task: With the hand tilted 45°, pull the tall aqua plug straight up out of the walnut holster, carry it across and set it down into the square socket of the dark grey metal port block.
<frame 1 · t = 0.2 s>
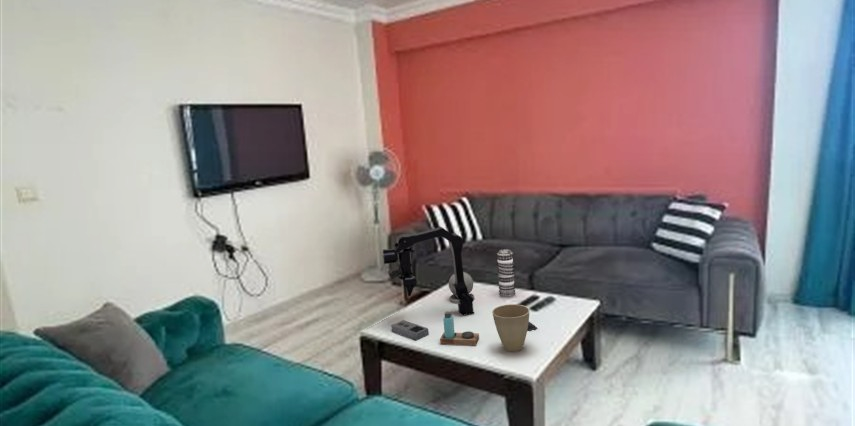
hand: (407, 293, 242), 15 cm above the table, tool pointing down, fingers open, 9 cm apart
plug: (450, 341, 219), resting in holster
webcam: (462, 299, 269), on the table
port block: (417, 335, 228), on the table
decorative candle: (507, 297, 267), on the table
phone: (522, 326, 229), on the table
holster: (450, 341, 219), on the table
plant pot: (513, 348, 208), on the table
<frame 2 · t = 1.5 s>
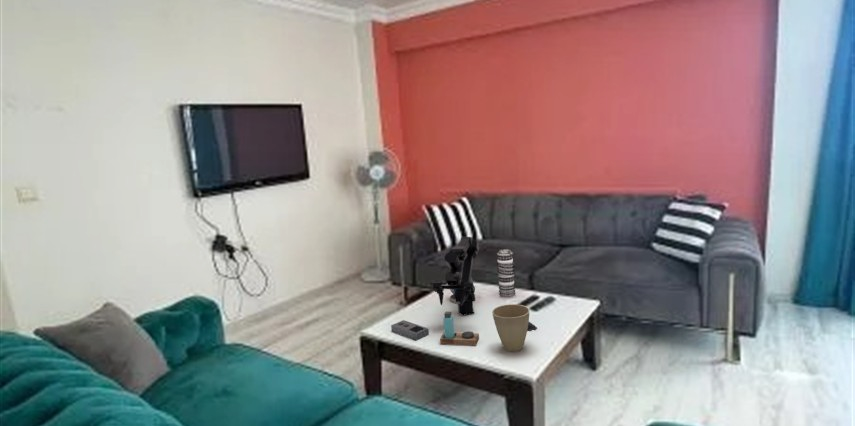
hand: (451, 305, 225), 13 cm above the table, tool tilted 45°, fingers open, 9 cm apart
nothing on the table moved.
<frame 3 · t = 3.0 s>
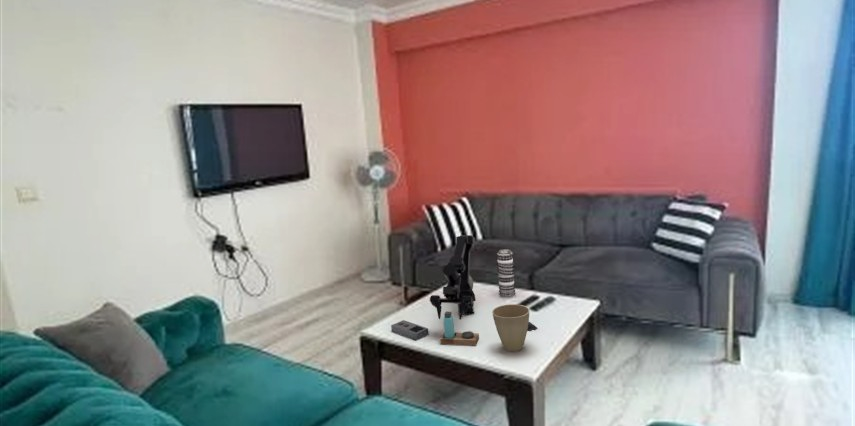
hand: (449, 319, 219), 9 cm above the table, tool tilted 45°, fingers open, 9 cm apart
nothing on the table moved.
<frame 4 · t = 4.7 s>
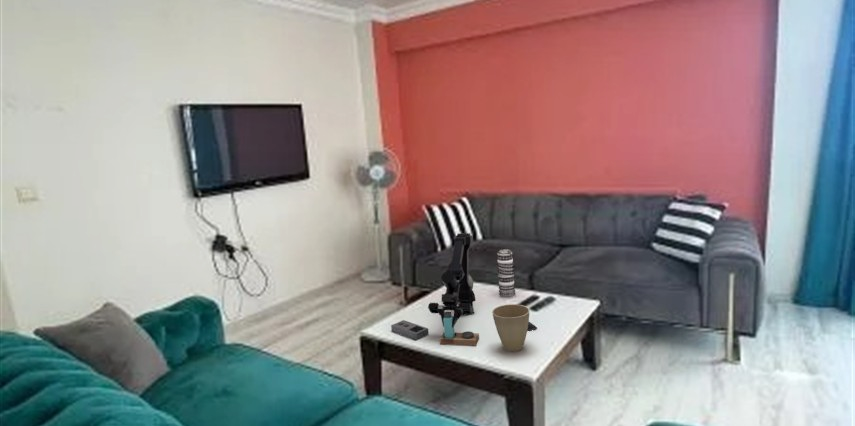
hand: (448, 327, 217), 7 cm above the table, tool tilted 45°, fingers closed on plug, 3 cm apart
plug: (450, 341, 219), resting in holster, touching gripper
everything else where it was.
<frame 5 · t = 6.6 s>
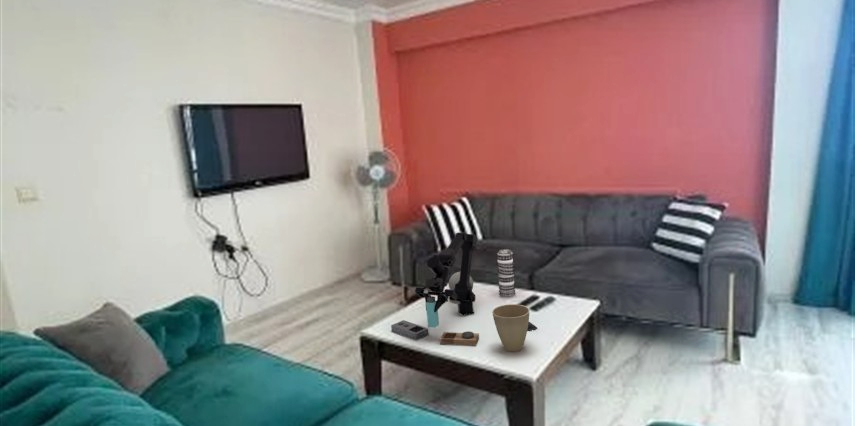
hand: (430, 311, 218), 14 cm above the table, tool tilted 45°, fingers closed on plug, 3 cm apart
plug: (433, 325, 221), point 6 cm above the table, touching gripper
everything else where it was.
when the fingers open (9 cm above the table, at t = 8.8 s): plug drops 1 cm, resting in port block.
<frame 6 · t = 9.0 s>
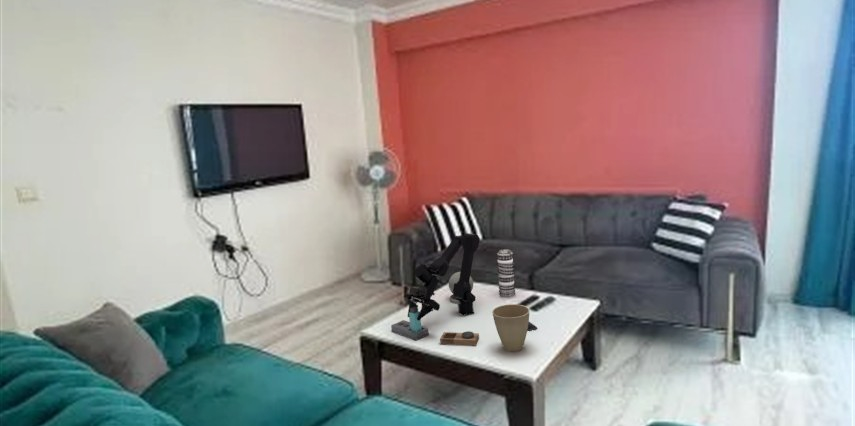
hand: (412, 318, 226), 9 cm above the table, tool tilted 45°, fingers open, 6 cm apart
plug: (416, 335, 228), resting in port block
everything else where it was.
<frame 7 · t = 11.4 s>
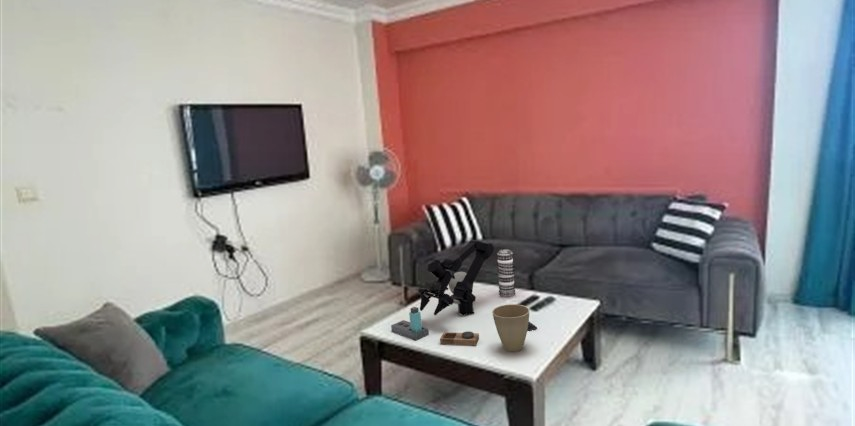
hand: (427, 312, 232), 8 cm above the table, tool tilted 45°, fingers open, 9 cm apart
nothing on the table moved.
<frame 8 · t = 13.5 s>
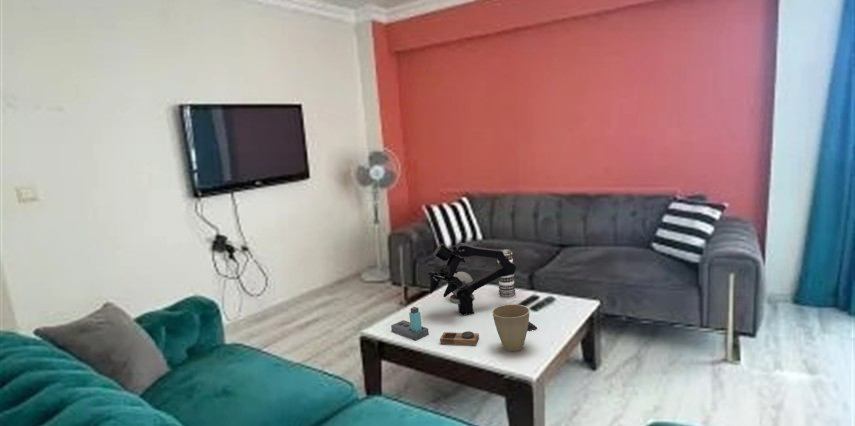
hand: (437, 295, 238), 14 cm above the table, tool tilted 45°, fingers open, 9 cm apart
nothing on the table moved.
at the end: plug 0.1 cm off-centre on the port block, point 0.0 cm above the port block's base; plug tilted 0°; the gripper is holding nothing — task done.
